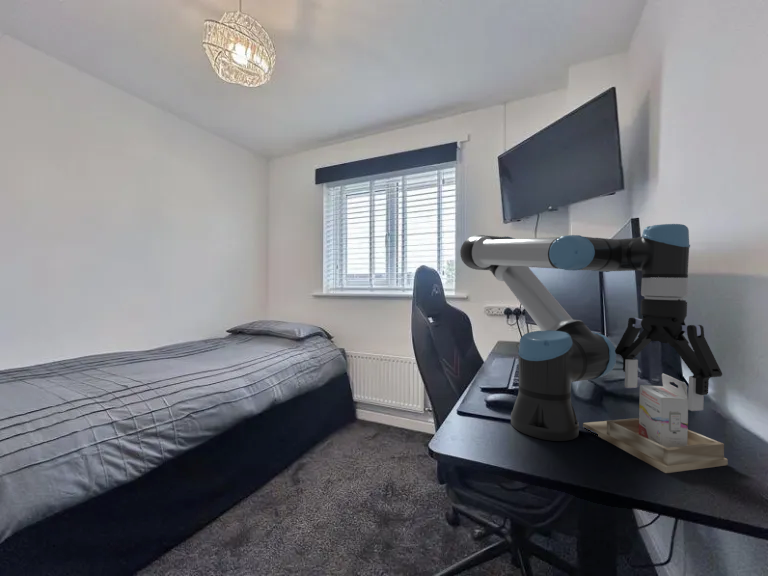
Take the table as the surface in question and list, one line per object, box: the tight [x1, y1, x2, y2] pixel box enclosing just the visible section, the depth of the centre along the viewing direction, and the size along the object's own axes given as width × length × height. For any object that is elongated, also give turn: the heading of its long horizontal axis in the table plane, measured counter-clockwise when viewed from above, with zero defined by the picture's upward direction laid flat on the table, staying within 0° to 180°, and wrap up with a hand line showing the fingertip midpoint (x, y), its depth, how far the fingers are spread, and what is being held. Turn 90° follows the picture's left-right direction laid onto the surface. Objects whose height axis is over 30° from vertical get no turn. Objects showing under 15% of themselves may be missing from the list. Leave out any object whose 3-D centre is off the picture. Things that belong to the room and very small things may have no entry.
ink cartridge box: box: [638, 373, 689, 448], centre depth 71 cm, size 9×5×15 cm, turn 169°
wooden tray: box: [582, 417, 729, 474], centre depth 74 cm, size 20×15×4 cm
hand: (660, 397), depth 71 cm, fingers open, 13 cm apart
